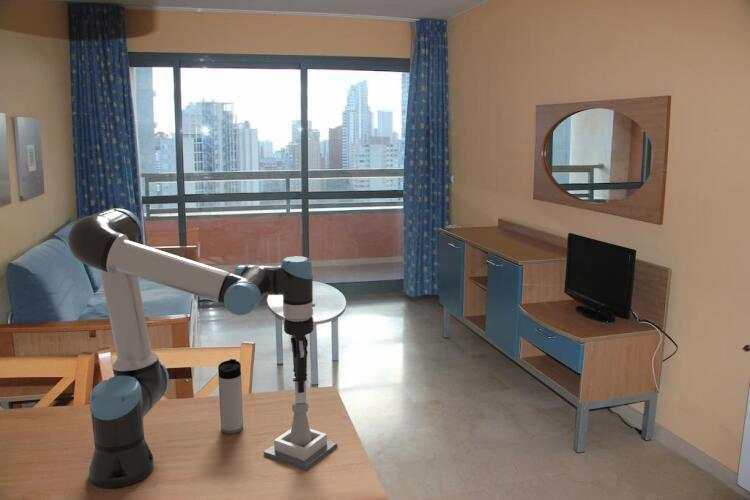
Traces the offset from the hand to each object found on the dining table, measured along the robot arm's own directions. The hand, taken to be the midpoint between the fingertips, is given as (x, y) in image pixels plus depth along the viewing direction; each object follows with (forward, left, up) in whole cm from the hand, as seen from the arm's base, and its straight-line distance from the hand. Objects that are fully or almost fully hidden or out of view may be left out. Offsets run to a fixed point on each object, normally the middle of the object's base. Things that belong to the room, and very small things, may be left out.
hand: (300, 401), depth 169 cm
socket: (0, 0, -14) cm, 14 cm away
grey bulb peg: (0, 0, -13) cm, 13 cm away
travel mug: (-24, -1, -15) cm, 28 cm away
